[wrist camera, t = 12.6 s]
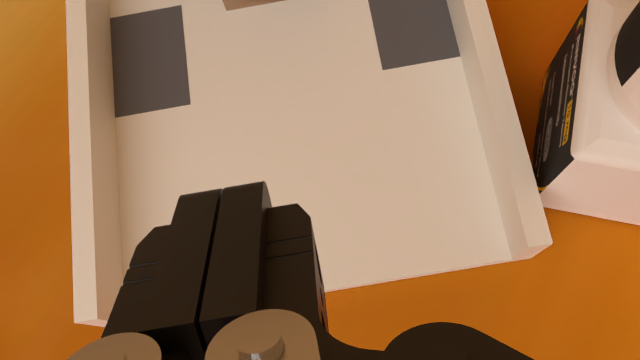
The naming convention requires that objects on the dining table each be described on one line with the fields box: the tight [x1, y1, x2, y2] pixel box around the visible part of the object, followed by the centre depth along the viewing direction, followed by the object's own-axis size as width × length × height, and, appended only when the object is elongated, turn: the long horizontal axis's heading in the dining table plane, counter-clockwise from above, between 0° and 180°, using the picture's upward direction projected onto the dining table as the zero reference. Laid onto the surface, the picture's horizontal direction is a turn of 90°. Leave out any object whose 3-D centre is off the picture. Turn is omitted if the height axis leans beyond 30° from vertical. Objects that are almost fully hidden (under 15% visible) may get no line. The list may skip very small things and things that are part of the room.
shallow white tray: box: [66, 0, 553, 327], centre depth 30 cm, size 20×25×4 cm
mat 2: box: [368, 0, 460, 70], centre depth 31 cm, size 4×6×1 cm, turn 9°
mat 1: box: [110, 5, 191, 118], centre depth 32 cm, size 4×6×1 cm, turn 9°
